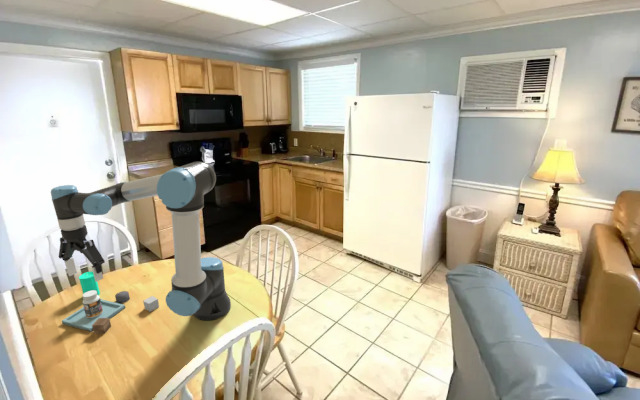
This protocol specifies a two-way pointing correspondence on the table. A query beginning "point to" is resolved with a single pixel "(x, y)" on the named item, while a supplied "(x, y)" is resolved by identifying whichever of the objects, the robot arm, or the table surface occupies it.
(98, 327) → the walnut block
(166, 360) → the table surface
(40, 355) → the table surface
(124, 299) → the dark grey stone
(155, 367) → the table surface
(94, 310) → the pill bottle
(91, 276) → the candle
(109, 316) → the tray
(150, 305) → the grey block
